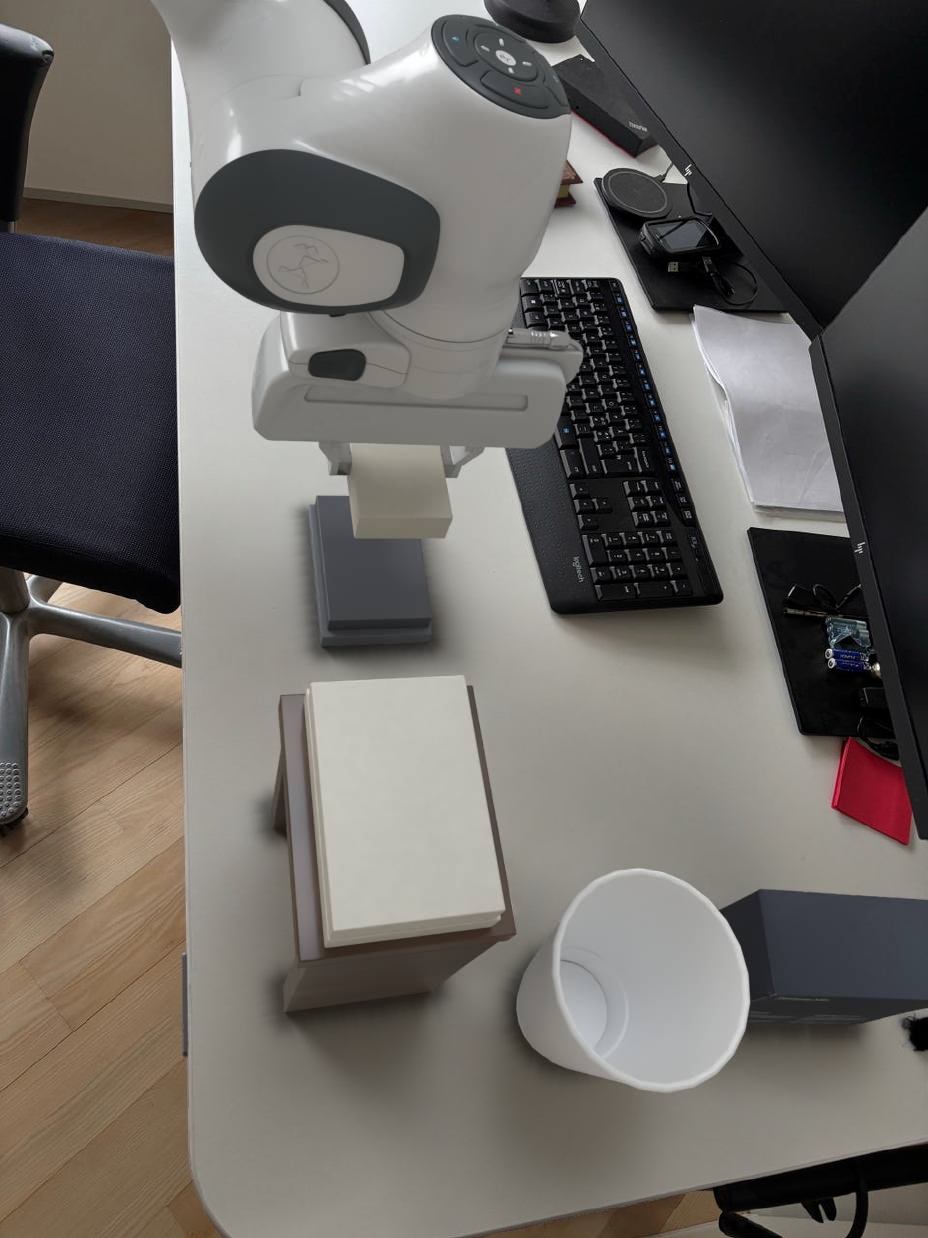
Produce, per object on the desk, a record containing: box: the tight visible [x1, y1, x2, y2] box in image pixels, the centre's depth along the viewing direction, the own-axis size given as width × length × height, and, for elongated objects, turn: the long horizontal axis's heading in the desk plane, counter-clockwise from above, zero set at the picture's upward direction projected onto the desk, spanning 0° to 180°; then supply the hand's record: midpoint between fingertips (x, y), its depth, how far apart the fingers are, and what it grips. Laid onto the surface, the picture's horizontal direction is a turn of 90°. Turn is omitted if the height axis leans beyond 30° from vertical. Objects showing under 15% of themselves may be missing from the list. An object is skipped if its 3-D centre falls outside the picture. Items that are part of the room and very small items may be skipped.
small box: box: [718, 888, 928, 1026], centre depth 64 cm, size 13×7×12 cm, turn 90°
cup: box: [515, 867, 750, 1094], centre depth 58 cm, size 12×12×16 cm
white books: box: [304, 674, 505, 948], centre depth 47 cm, size 13×8×4 cm, turn 9°
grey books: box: [307, 495, 433, 647], centre depth 77 cm, size 13×9×3 cm
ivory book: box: [346, 443, 454, 540], centre depth 65 cm, size 11×6×3 cm, turn 9°
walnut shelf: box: [271, 684, 518, 1013], centre depth 57 cm, size 14×11×20 cm
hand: (391, 469), depth 66 cm, fingers closed on ivory book, 6 cm apart
